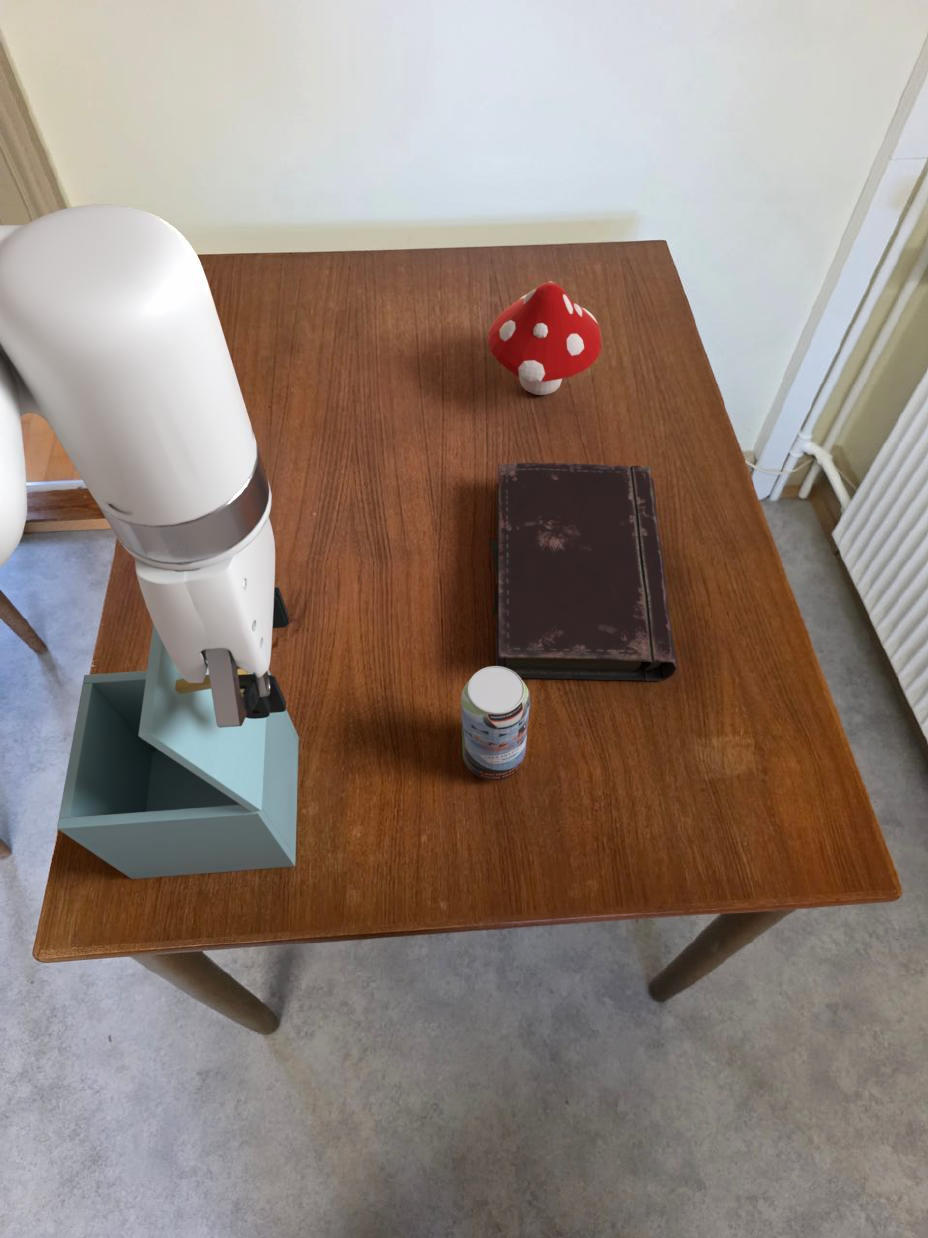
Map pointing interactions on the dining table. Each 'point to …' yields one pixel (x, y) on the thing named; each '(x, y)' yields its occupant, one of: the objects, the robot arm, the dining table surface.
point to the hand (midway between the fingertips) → (263, 664)
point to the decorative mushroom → (545, 338)
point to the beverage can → (494, 723)
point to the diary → (580, 573)
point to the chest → (169, 794)
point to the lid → (201, 731)
